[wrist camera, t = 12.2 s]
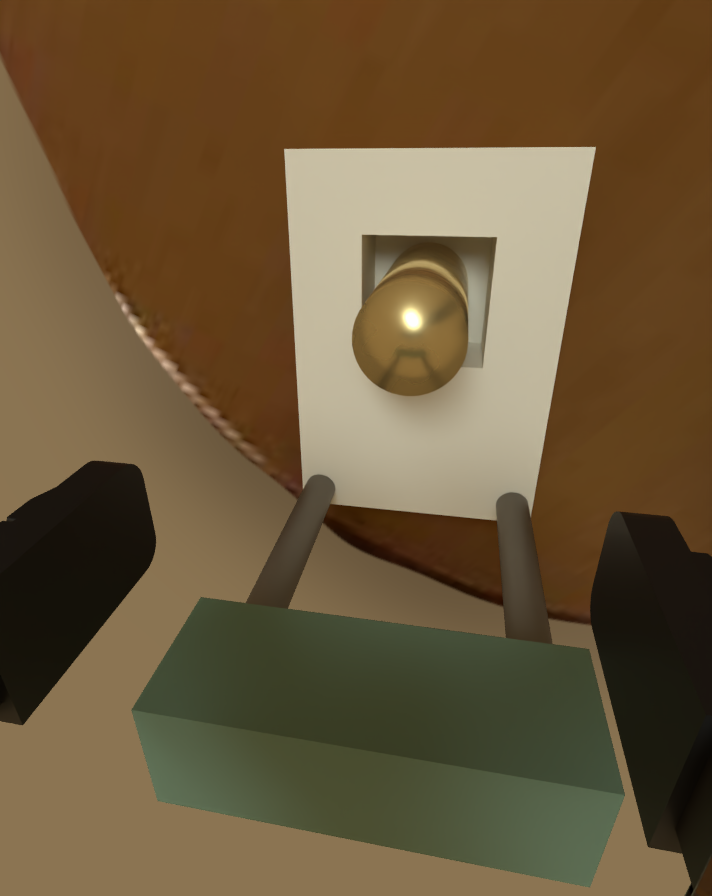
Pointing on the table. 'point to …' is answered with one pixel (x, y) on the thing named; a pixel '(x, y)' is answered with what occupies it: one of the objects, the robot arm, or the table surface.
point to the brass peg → (415, 322)
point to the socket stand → (413, 490)
